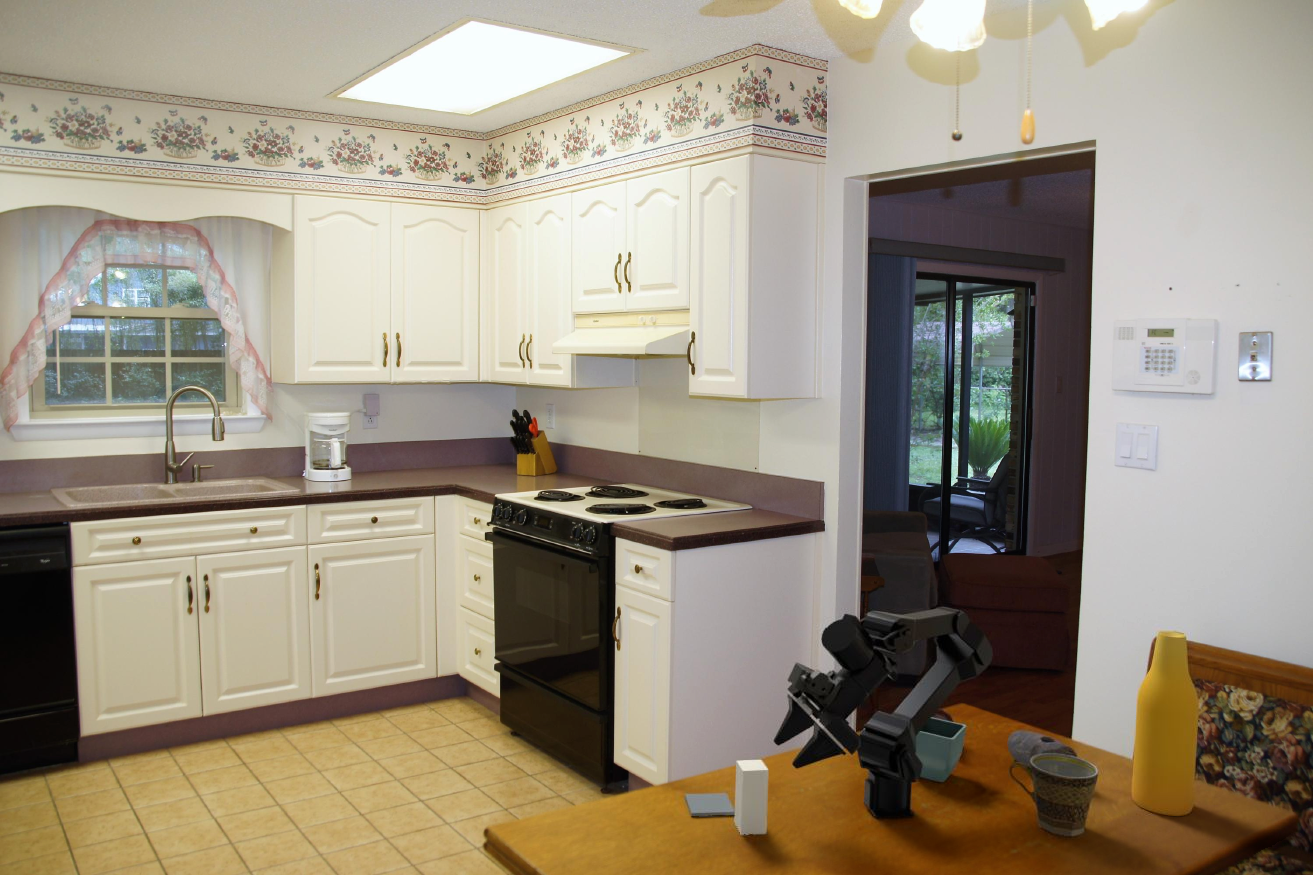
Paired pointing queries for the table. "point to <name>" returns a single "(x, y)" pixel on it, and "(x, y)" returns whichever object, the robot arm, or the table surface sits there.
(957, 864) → the table surface
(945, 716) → the icecream
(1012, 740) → the perforated stone tool
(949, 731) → the flower pot
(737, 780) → the tall block
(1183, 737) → the beer bottle
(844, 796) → the table surface
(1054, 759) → the ceramic cup
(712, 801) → the slate mat
